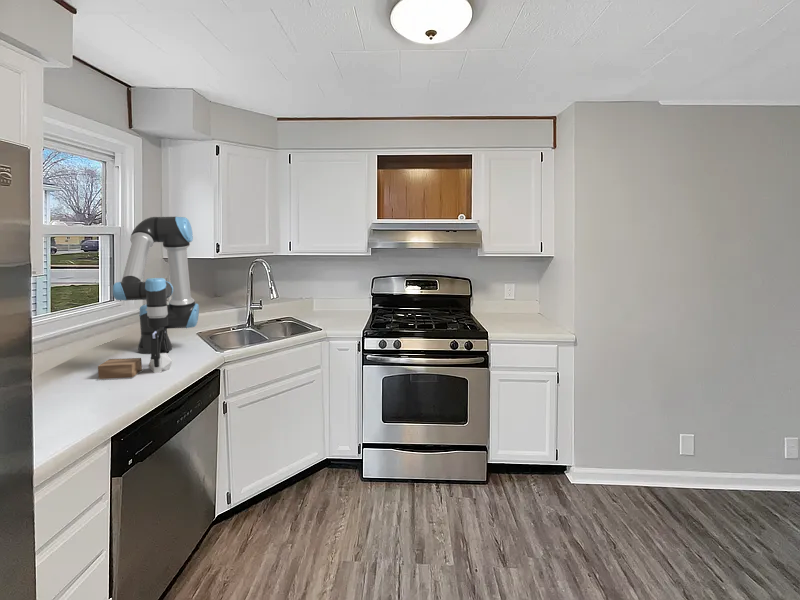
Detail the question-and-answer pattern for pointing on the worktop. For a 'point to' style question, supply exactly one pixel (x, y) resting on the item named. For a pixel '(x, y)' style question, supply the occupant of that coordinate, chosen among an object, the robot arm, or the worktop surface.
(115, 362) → the walnut brick
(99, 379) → the base plate
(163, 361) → the die
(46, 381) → the worktop surface
